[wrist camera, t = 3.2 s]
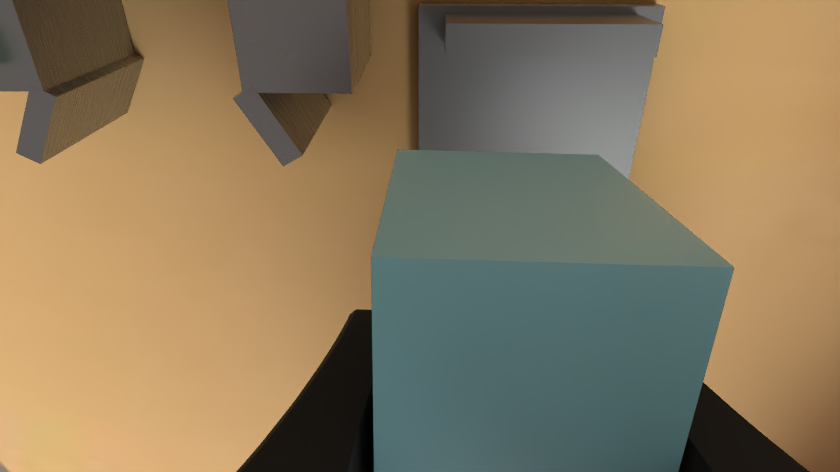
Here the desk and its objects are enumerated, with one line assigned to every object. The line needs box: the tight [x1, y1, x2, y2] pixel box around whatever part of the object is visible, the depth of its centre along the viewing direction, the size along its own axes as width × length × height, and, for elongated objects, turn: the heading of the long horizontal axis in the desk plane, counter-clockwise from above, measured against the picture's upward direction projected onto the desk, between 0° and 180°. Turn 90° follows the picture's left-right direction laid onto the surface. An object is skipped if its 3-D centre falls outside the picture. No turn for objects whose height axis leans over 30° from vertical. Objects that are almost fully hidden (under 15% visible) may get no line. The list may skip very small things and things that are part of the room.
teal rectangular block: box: [371, 149, 734, 472], centre depth 9 cm, size 7×4×4 cm, turn 179°
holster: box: [419, 3, 665, 180], centre depth 17 cm, size 9×7×3 cm
